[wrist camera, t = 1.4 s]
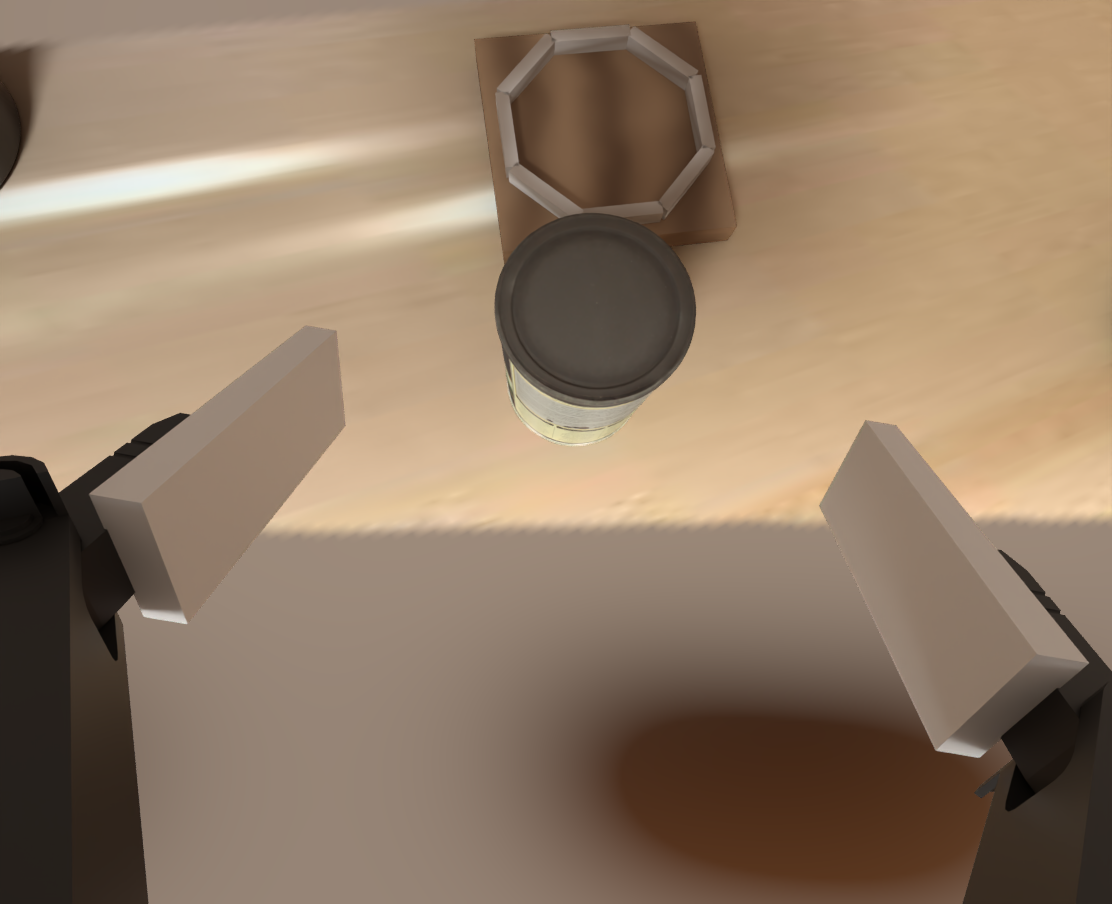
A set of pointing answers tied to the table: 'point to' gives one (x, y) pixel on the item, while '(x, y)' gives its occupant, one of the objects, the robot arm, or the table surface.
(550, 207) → the collar board
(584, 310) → the coffee can
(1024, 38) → the table surface
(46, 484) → the robot arm
